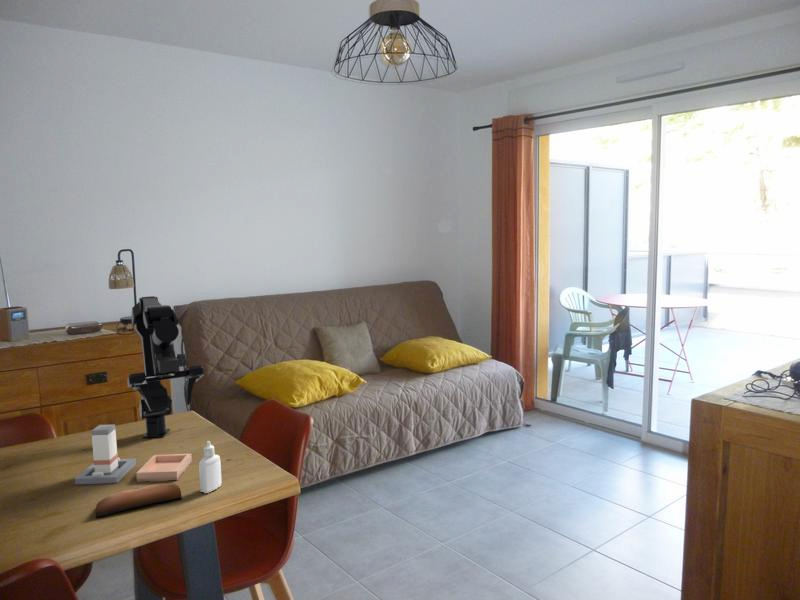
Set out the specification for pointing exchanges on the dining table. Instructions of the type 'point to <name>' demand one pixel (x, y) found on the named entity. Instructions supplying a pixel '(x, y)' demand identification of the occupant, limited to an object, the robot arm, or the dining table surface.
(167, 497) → the sunglasses case
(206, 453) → the eye dropper bottle
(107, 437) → the white rectangular block
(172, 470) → the dish
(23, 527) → the dining table surface
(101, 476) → the clip frame
